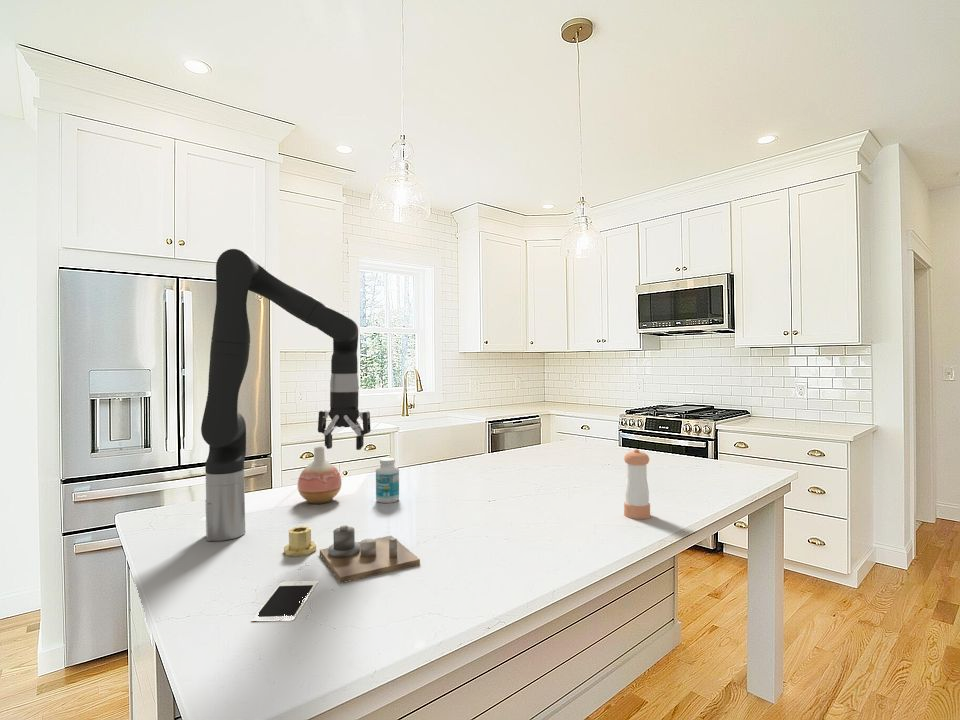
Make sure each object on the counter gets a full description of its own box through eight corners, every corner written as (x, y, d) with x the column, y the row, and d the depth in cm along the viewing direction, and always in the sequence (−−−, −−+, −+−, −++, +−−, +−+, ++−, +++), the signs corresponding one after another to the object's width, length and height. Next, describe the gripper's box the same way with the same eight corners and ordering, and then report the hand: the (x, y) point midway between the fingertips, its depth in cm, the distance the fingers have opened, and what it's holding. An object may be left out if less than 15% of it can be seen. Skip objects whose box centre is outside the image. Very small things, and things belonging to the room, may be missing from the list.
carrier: (340, 583, 109) (340, 548, 109) (319, 554, 124) (319, 524, 124) (420, 564, 118) (419, 532, 118) (391, 540, 134) (391, 512, 133)
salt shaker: (651, 519, 147) (651, 452, 147) (625, 518, 149) (624, 451, 148) (648, 512, 154) (648, 447, 154) (623, 510, 156) (622, 446, 156)
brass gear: (287, 558, 122) (287, 536, 122) (282, 549, 128) (282, 528, 128) (318, 552, 126) (317, 531, 126) (311, 543, 132) (311, 523, 132)
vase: (314, 510, 160) (313, 452, 160) (289, 502, 168) (288, 448, 168) (350, 499, 171) (349, 446, 171) (324, 493, 179) (324, 442, 179)
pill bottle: (371, 502, 168) (370, 460, 168) (385, 496, 175) (385, 456, 175) (389, 504, 165) (389, 462, 165) (403, 498, 171) (403, 457, 171)
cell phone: (318, 583, 110) (318, 580, 110) (294, 623, 94) (293, 619, 94) (281, 584, 110) (281, 581, 110) (249, 624, 93) (249, 621, 93)
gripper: (313, 390, 141) (313, 450, 141) (364, 391, 139) (364, 452, 139) (325, 388, 148) (325, 445, 148) (373, 389, 146) (373, 447, 146)
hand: (344, 448), depth 144 cm, fingers open, 8 cm apart
